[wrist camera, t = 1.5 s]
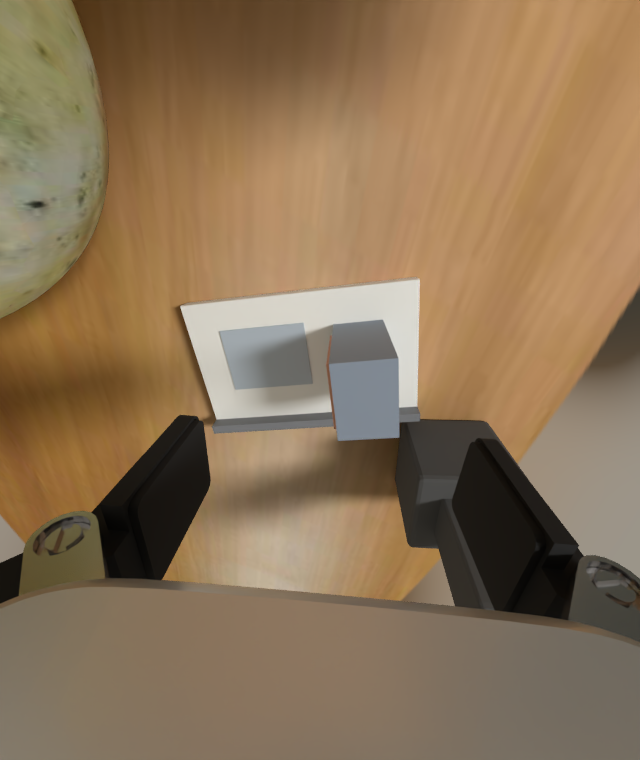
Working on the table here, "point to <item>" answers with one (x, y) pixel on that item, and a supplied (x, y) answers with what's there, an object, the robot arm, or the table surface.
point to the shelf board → (295, 351)
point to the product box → (363, 381)
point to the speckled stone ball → (47, 147)
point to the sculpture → (440, 498)
